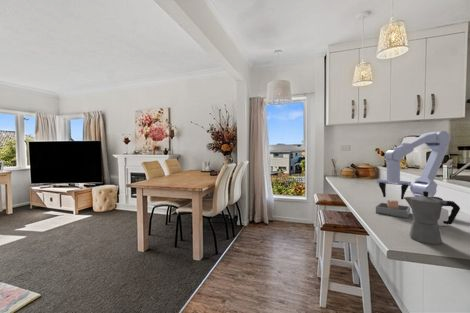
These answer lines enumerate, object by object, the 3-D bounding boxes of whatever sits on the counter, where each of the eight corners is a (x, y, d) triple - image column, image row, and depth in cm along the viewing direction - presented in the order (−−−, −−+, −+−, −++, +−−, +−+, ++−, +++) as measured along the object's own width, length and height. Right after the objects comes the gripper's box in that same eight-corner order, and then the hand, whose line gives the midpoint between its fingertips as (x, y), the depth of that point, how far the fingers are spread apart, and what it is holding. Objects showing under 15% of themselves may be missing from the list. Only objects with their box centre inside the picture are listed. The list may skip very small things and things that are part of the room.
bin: (410, 213, 113) (410, 206, 112) (406, 218, 104) (406, 211, 104) (380, 208, 122) (380, 202, 122) (375, 212, 113) (375, 206, 113)
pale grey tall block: (448, 226, 93) (449, 199, 93) (429, 225, 94) (429, 198, 94) (436, 221, 100) (437, 195, 100) (419, 220, 101) (419, 195, 101)
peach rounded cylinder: (398, 212, 113) (398, 200, 113) (397, 213, 110) (397, 202, 110) (388, 210, 116) (388, 199, 116) (386, 212, 113) (386, 200, 113)
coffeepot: (399, 236, 82) (399, 190, 81) (407, 231, 87) (408, 187, 87) (456, 252, 69) (457, 197, 69) (462, 244, 74) (462, 193, 74)
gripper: (375, 172, 115) (375, 197, 115) (409, 173, 105) (409, 201, 105) (378, 171, 120) (378, 195, 120) (411, 172, 109) (411, 199, 110)
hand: (393, 197), depth 113 cm, fingers open, 7 cm apart
